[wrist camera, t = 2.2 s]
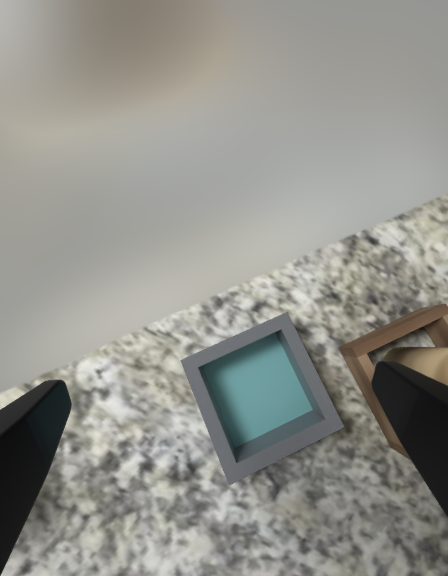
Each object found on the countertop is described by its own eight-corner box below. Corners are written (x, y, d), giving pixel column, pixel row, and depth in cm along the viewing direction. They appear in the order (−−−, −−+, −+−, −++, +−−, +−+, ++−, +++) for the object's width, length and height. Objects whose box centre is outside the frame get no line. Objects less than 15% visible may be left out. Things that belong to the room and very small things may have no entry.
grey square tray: (327, 415, 21) (344, 427, 18) (228, 464, 20) (229, 485, 17) (279, 316, 23) (286, 312, 20) (186, 358, 22) (180, 360, 19)
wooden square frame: (479, 401, 21) (513, 409, 19) (391, 447, 20) (413, 461, 18) (421, 307, 23) (445, 303, 20) (338, 347, 22) (352, 347, 20)
